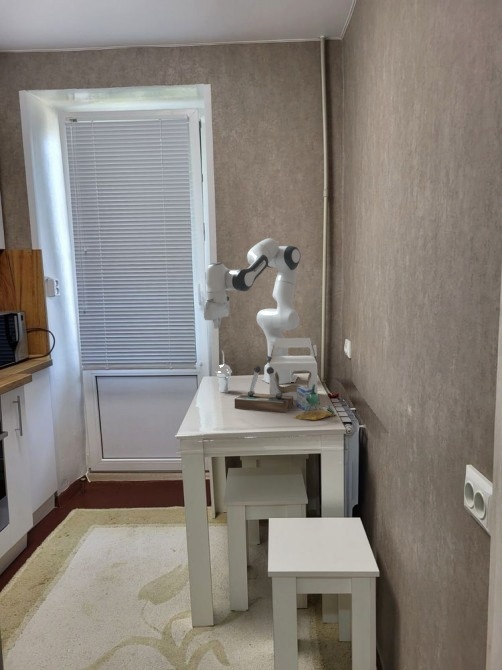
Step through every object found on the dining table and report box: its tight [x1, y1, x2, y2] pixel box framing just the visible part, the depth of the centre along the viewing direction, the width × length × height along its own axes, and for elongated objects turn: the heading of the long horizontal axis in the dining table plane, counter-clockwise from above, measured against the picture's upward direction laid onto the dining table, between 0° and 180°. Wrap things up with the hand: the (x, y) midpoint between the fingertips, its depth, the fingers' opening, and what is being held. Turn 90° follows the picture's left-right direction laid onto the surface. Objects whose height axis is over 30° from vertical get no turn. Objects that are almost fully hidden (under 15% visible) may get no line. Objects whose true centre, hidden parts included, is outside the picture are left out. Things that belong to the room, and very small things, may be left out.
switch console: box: [234, 392, 294, 414], centre depth 210 cm, size 12×24×4 cm, turn 68°
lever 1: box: [247, 365, 262, 397], centre depth 211 cm, size 3×3×14 cm
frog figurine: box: [293, 384, 337, 421], centre depth 193 cm, size 10×18×15 cm, turn 88°
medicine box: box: [296, 385, 315, 412], centre depth 207 cm, size 8×4×9 cm, turn 22°
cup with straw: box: [215, 349, 233, 393], centre depth 238 cm, size 8×9×20 cm
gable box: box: [268, 337, 318, 401], centre depth 224 cm, size 22×13×28 cm, turn 85°
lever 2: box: [267, 367, 283, 399], centre depth 207 cm, size 3×3×14 cm
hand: (217, 328), depth 223 cm, fingers closed
